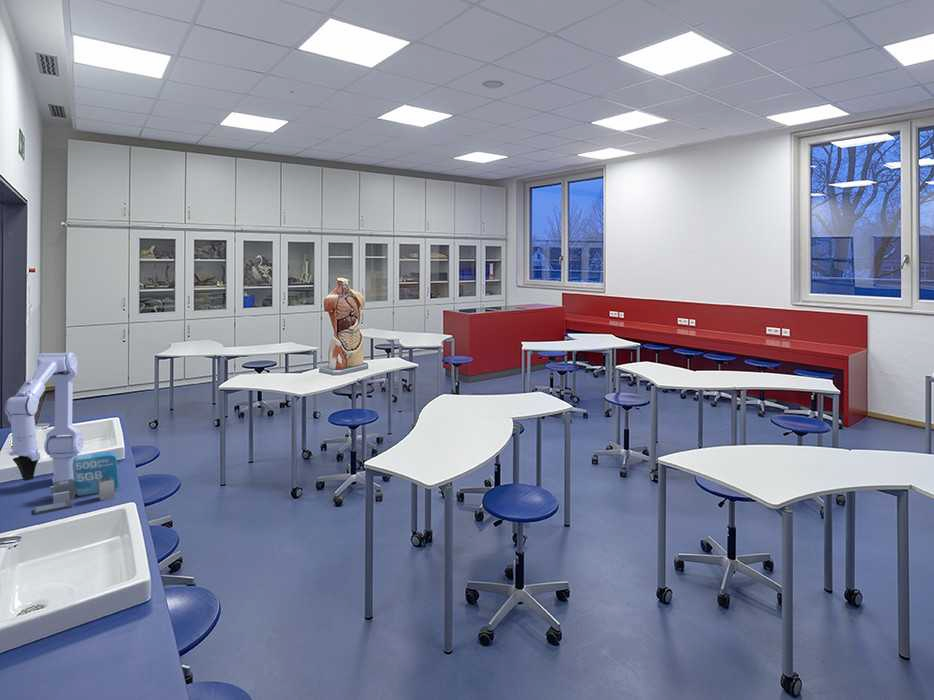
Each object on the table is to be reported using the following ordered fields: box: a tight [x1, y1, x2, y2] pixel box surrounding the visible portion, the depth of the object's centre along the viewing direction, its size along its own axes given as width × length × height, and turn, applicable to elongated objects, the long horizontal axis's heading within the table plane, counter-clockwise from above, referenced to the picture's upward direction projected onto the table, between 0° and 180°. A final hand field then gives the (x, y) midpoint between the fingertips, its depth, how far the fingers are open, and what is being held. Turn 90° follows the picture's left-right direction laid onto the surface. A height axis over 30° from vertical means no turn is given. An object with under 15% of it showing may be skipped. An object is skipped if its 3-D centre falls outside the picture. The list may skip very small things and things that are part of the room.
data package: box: [72, 451, 119, 497], centre depth 192 cm, size 12×4×12 cm, turn 121°
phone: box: [33, 500, 73, 516], centre depth 179 cm, size 5×9×1 cm, turn 128°
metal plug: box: [97, 476, 116, 502], centre depth 187 cm, size 4×4×6 cm
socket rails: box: [49, 485, 71, 504], centre depth 187 cm, size 9×4×3 cm, turn 39°
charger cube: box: [53, 479, 76, 500], centre depth 187 cm, size 5×5×5 cm
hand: (28, 479), depth 180 cm, fingers closed
